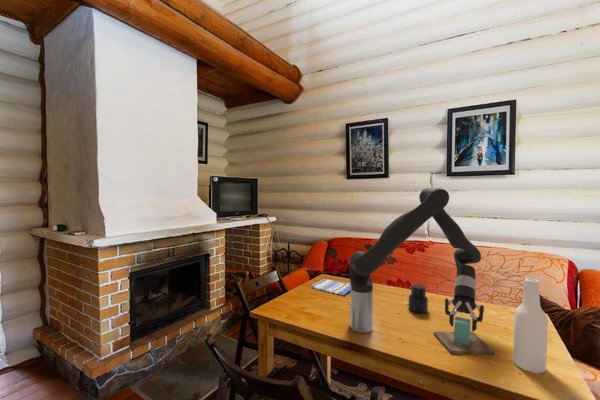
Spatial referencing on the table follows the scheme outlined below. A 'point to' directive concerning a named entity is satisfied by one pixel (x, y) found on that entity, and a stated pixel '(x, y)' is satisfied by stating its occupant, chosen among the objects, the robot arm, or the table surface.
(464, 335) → the tall teal pillar
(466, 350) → the post board
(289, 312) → the table surface
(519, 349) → the alcohol
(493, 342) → the table surface
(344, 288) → the dish towel
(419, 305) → the ink bottle
